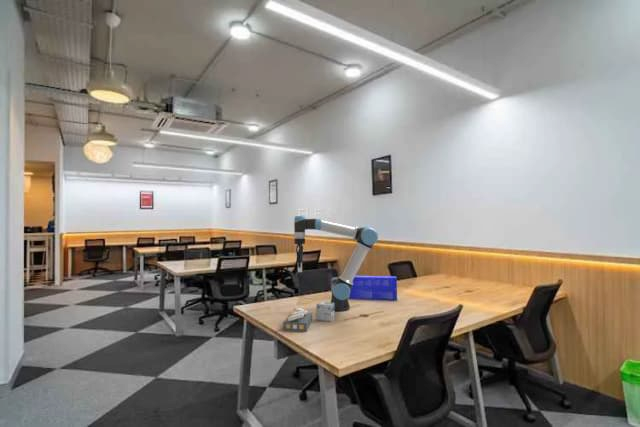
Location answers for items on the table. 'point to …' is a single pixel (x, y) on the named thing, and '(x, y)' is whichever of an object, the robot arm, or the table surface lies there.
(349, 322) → the table surface
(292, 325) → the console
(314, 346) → the table surface
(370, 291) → the toner cartridge box
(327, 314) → the light bulb box
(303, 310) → the rocker mid
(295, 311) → the rocker far
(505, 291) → the table surface
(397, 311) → the table surface
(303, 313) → the rocker near
